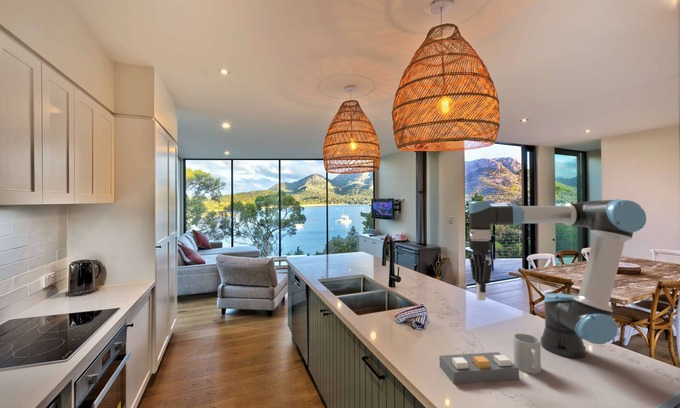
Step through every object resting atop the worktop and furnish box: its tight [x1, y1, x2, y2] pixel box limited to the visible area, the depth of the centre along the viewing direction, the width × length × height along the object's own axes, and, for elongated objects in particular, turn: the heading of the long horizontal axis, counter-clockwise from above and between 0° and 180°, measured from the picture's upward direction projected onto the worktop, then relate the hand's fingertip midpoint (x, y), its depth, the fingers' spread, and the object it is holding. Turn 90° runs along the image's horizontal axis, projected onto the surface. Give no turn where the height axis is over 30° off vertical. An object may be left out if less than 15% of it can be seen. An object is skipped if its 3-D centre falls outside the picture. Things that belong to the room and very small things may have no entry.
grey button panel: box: [438, 351, 520, 385], centre depth 102 cm, size 24×11×6 cm, turn 95°
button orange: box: [473, 356, 490, 369], centre depth 100 cm, size 4×4×3 cm
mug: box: [513, 333, 542, 375], centre depth 104 cm, size 12×8×11 cm
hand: (481, 299), depth 110 cm, fingers closed
